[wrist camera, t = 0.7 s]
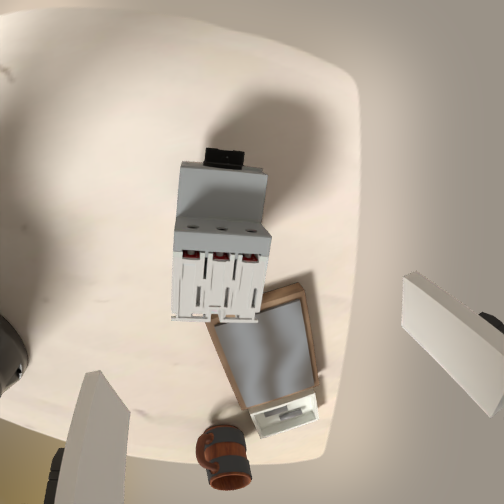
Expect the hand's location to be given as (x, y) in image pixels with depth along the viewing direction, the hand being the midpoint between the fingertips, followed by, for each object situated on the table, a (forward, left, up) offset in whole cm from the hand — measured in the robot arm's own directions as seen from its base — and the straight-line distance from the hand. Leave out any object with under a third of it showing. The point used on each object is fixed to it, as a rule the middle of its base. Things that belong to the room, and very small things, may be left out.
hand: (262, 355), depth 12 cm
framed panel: (+2, -24, -28) cm, 37 cm away
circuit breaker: (0, 0, -28) cm, 28 cm away
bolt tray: (+2, -40, -28) cm, 49 cm away
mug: (-12, -42, -28) cm, 52 cm away
